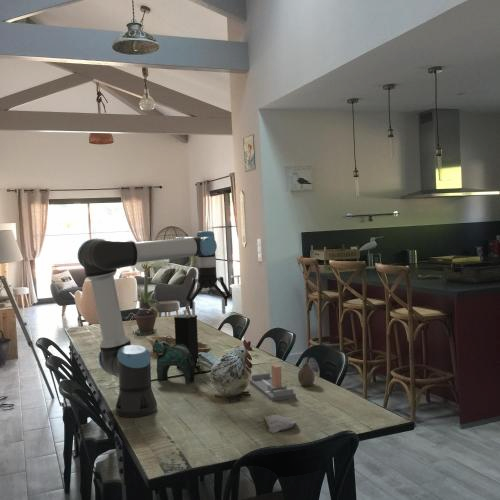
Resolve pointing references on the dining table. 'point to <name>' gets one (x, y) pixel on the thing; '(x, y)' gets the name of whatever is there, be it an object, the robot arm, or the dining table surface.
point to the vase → (306, 375)
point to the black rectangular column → (187, 333)
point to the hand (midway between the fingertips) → (208, 315)
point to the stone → (278, 423)
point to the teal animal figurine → (173, 360)
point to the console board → (262, 385)
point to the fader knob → (276, 379)
